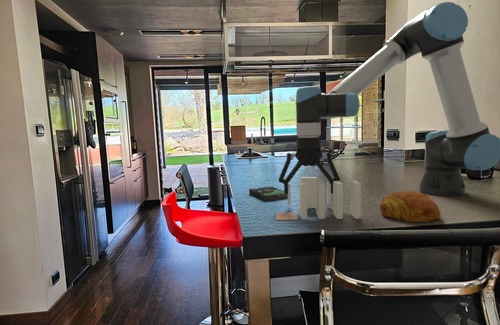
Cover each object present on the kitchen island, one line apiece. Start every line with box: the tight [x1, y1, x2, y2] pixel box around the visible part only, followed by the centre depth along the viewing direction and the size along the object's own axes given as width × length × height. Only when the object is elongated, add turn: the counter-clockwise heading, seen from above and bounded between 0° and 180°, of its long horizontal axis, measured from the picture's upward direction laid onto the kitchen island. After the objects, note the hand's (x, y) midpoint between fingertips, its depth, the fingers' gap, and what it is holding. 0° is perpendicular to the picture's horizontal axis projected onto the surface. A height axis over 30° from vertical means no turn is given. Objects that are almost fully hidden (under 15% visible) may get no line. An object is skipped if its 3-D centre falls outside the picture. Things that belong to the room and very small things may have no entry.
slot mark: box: [275, 212, 298, 221], centre depth 91 cm, size 6×7×1 cm
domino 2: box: [300, 176, 318, 210], centre depth 100 cm, size 5×2×10 cm, turn 87°
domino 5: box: [349, 180, 362, 220], centre depth 90 cm, size 2×5×10 cm, turn 177°
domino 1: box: [298, 181, 308, 220], centre depth 91 cm, size 2×5×10 cm, turn 177°
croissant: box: [379, 190, 441, 223], centre depth 89 cm, size 14×16×8 cm
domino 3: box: [315, 180, 326, 220], centre depth 90 cm, size 2×5×10 cm, turn 177°
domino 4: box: [332, 181, 344, 220], centre depth 90 cm, size 2×5×10 cm, turn 177°
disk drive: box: [248, 186, 288, 202], centre depth 120 cm, size 10×3×15 cm
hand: (308, 203), depth 101 cm, fingers open, 12 cm apart
